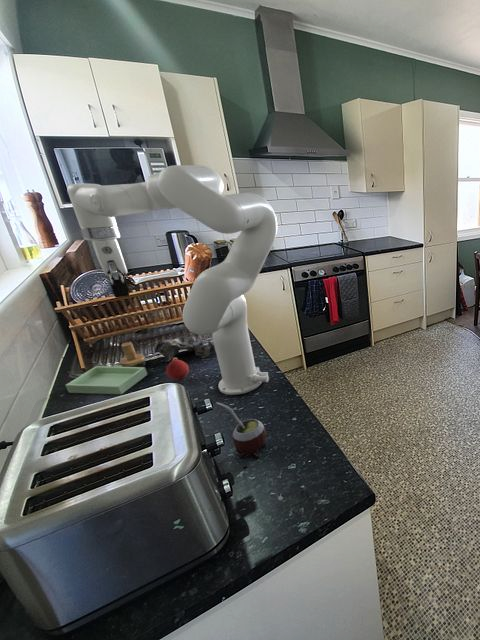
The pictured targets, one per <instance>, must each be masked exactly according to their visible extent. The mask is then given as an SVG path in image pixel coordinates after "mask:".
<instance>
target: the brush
mask: <svg viewBox="0 0 480 640" xmlns="http://www.w3.org/2000/svg"><path fill="white" fill-rule="evenodd" d="M120 347H121V349H122V351H123V352H122V353H123V355H124V357H122V358H121V359H120V360H119V365H120V367H145V366H146V364H147V362H146V357H145V355H144V354H143V353H137V352H136V350H135V347H134V345H133V342H132V341H131V342H130V341H128V342H127V341H126V342H124V343H122V344H121V346H120Z"/></svg>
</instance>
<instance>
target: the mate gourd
mask: <svg viewBox="0 0 480 640" xmlns="http://www.w3.org/2000/svg"><path fill="white" fill-rule="evenodd" d="M215 404H216V405H218V406H220V407H222V408H224V409H226V410H227V411H228V413H229V414H230V415H232V417H233V418H234V419H235V421H236V422H237V425H236V426H235V428H234V429H233V431H232V443H233V445H234V448H235V450H236V452H237V453H238V454H239V456H238V457H239V459H244V458H246V457H248V456H250V455H252V456H253V457H254V458H255V460H259V459H260V458H261V457H260V455H259V451H260V450H262V449H264V448H266V447H267V442H266V439H267V429H266V427H265V426H264V424H263V423H262V422H261V421H260V420H258V419H256V418H249V419H245V420H243V421H241V420H240V419H239V417H238V416H237V414H236V413H235V412H234V410H233V409H232V408H231V407H230V406H227V404H224V403H222V402H218V401H216V402H215ZM243 453H244V454H243ZM254 453H255V454H256V455H257V454H258V455H257V456H256V455H255V454H254ZM241 454H242V455H241Z"/></svg>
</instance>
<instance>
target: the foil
mask: <svg viewBox="0 0 480 640" xmlns="http://www.w3.org/2000/svg"><path fill="white" fill-rule="evenodd" d="M213 347H214V343H213V338H212V339H211V340H209V341H208V343H205V341H203V340H202V339H200V338H197V339H196V340H194V338H192V336H191V335H189V336H187V337H185V336H183V335H182V336H181V335H180V336H178V337H175V338H172V339H166V340H163V341H161V342H158V343H157V345H156V346H155V348H154V352H155V353H157V354H161V355H162V357H164V363H169V362H171V361H172V360H173V358H174V356H175V355H177V354H179V353H180V351H181V350H187V351H188V352H192V351H194V354H195V356H200V357H205V358H206V357H207V358H208V357H210V353H211V349H212V348H213Z"/></svg>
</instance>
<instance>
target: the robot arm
mask: <svg viewBox="0 0 480 640" xmlns="http://www.w3.org/2000/svg"><path fill="white" fill-rule="evenodd" d="M224 187H225V186H224V181H223V179H222V177H221V176H220V174H219V173H218V172H217V171H216V170H214V169H212V168H211V167H208V166H205V165H200V164H178V165H176V164H175V165H169V166H166V167H164V168H163V169H162V170H161V171H160V172H155V173H152V174H150V175H149V176H148V177H147V179H146V181H142V182H136V183H135V182H134V183H123V184H122V183H121V184H108V185H107V184H106V185H104V184H103V185H101V184H98V183H71V184H68V186H67V188H66V191H67V194H68V197H69V200H70V202H71V205H72V208H73V211H74V214H75V216H76V220H77V221H78V225H79V228H80V232H81V234H82V236H83V239H84V240H85V241H91V244H92V248H93V249H94V252H95V256H96V258H97V260H98V262H99V265H100V267H101V269H102V271H103V273H104V275H105V276H106V277H108V279H109V282H110V287H111V290H112V293H113V296H114V298H116V299H117V298H124V297H130V291H129V288H128V285H127V282H126V281H125V278H124V275H123V274H125V275H127V274H128V273H129V272H128V269H127V266H126V263H125V259H124V256H123V252H122V250H121V247H120V244H119V240H118V239H120V238H121V233H120V228H119V226H118V223H117V219H116V217H123V216H127V215H135V214H142V213H143V214H144V213H148V212H153V211H159V210H164V209H166V210H172V209H179V210H180V211H182V212H183V213H185V214H187V215H188V216H190V217H192V218H193V219H195V220H196V221H198V222H200V223H201V224H203V225H204V226H206V227H207V228H209V229H211V230H213V231H215V232H217V233H220V234H225V235H228V234H231V235H232V234H235V233H239V232H240V233H239V234H238V236H237V237H236V238H235V240H234V241H233V243H232V244H231V247H230V250H229V252H228V253H227V254H226V255H227V256H226V257H225V258H224V260H223V261H222V262H220V263H218V264H216V265H214V266H211V267H209V268H207V269H205V270H203V271H202V272H201V273H200V274H198V276H197V277H196V278H195V280H194V281H193V283H192V285H191V288H190V291H189V293H188V295H187V298H186V301H185V303H184V306H183V309H182V314H181V316H182V321H183V324H184V326H185V327H186V329H187V330H188V331H189V332H191V333H192V334H194V335H197V336H208V335H211V338H212V339H213V343H214V345H213V347H214V351H215V355H216V358H217V362H218V366H219V370H220V374H221V380H219V381H218V390H219V392H221V393H222V394H224V395H227V396H237V395H243V394H247V393H250V392H252V391H254V390H256V389H257V388H259V386H261V385H262V383H268V382H269V380H270V376H269V372H268V371H263V372H262V371H261V370H260V367H259V366H256V363H255V358H254V353H253V348H252V344H251V339H250V338H251V337H250V331H249V326H248V306H247V304H248V303H247V301H246V298H245V296H244V295H245V294H247V293H248V292H250V290H251V289H252V288H253V287H254V284H255V283H256V281H257V278H258V276H259V275H260V272H261V270H262V268H263V266H264V264H265V262H266V259H267V257H268V255H269V254H270V252H271V249H272V247H273V246H274V243H275V241H276V239H277V235H278V220H277V216H276V213H275V210H274V208H273V207H272V205H271V204H270V203H269V202H268V201H267V199H266V198H264V197H263V196H261V195H259V194H256V193H254V192H253V193H252V192H238V193H232V194H224V195H222V194H223V193H224Z"/></svg>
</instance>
